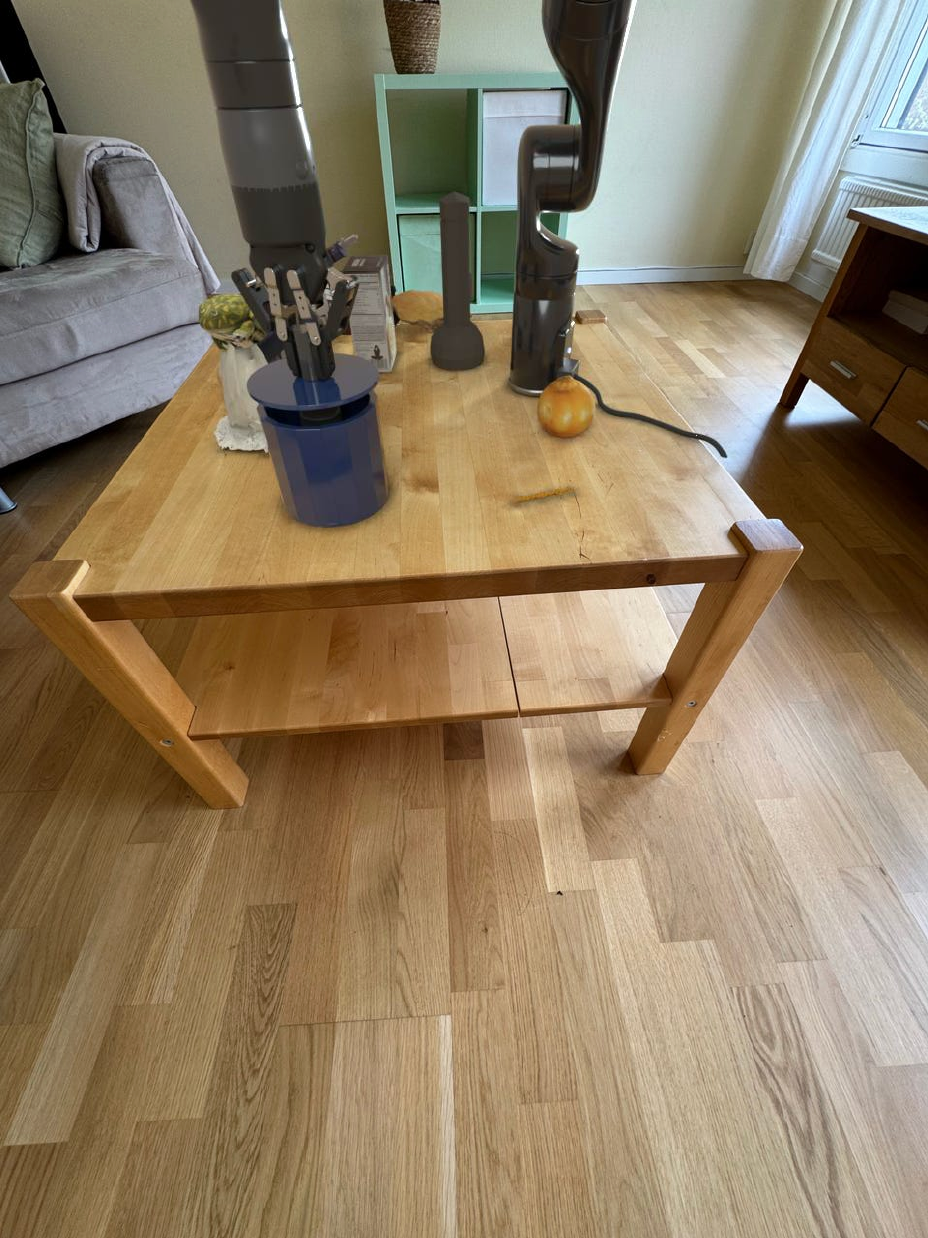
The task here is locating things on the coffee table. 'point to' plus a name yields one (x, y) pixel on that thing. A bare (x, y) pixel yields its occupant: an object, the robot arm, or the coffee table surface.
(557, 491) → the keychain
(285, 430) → the tin
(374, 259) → the coffee box
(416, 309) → the orange wide rounded piece
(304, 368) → the lid
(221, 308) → the frog
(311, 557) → the coffee table surface
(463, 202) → the flashlight
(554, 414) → the fruit
